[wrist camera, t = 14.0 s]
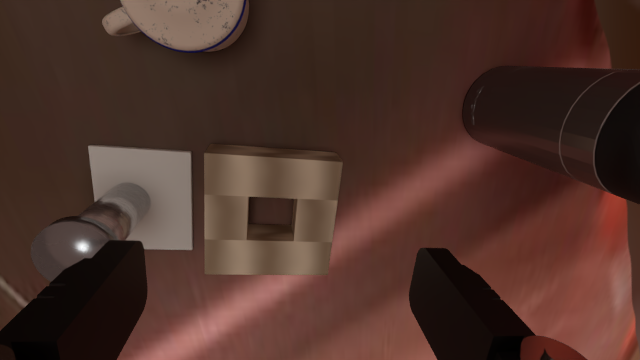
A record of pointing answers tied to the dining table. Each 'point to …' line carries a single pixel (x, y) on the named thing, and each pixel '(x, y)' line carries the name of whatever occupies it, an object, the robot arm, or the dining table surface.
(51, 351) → the robot arm
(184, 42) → the teacup with lid
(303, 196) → the bore housing
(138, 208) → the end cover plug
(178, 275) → the dining table surface
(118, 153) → the mat
